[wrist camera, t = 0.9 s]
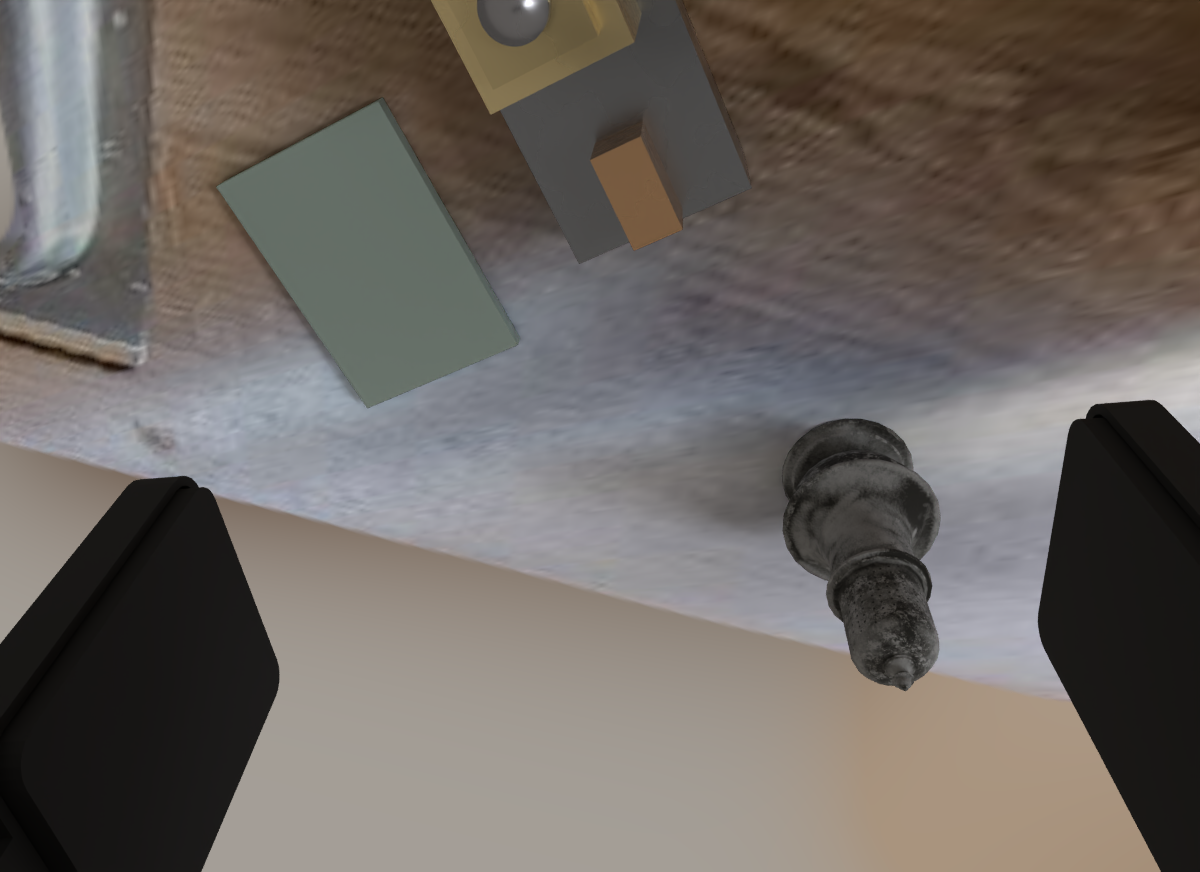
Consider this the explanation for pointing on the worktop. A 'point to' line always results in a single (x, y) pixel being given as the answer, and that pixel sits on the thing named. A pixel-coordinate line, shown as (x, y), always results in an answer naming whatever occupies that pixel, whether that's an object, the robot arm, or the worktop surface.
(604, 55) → the lever cap
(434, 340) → the mat
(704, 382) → the worktop surface
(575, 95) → the body
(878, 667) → the salt shaker
